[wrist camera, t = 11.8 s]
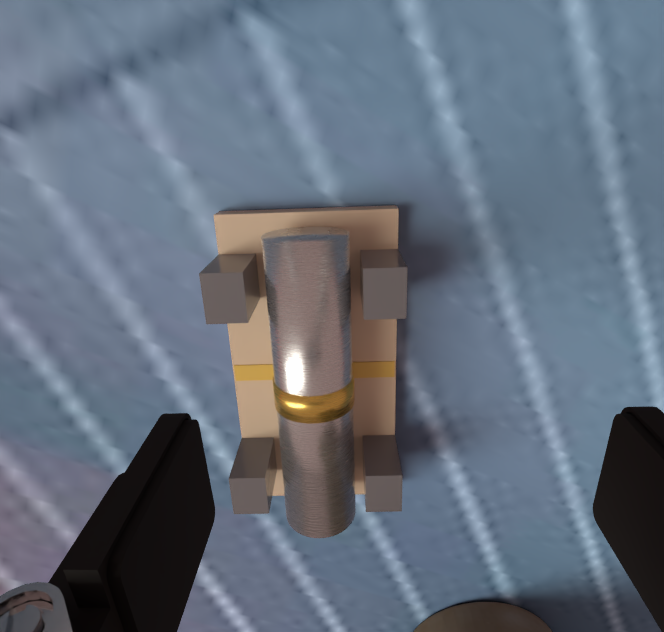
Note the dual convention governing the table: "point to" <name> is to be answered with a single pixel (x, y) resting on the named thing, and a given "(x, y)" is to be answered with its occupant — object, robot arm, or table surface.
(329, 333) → the tube
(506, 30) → the table surface
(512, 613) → the plant pot
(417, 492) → the table surface
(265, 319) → the plate
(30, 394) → the table surface
